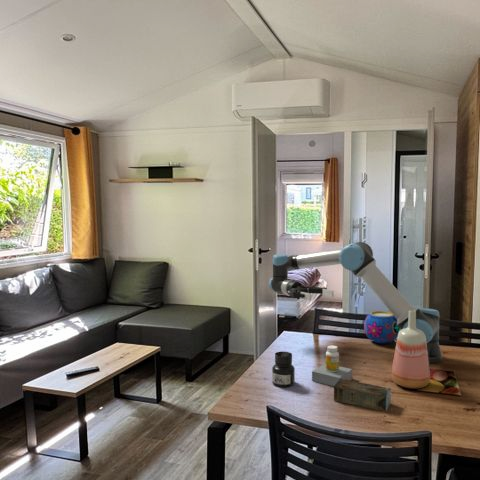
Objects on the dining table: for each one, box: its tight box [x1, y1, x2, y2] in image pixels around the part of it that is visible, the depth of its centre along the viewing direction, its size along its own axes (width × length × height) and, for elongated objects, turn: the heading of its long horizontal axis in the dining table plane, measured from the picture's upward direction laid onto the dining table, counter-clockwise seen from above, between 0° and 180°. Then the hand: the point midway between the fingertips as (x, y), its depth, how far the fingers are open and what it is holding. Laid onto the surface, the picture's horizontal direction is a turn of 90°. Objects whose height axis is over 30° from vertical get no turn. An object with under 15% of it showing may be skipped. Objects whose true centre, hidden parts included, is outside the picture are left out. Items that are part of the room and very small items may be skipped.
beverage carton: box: [333, 379, 392, 412], centre depth 171 cm, size 8×19×7 cm, turn 62°
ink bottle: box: [271, 350, 296, 388], centre depth 189 cm, size 10×9×12 cm
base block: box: [311, 362, 353, 387], centre depth 193 cm, size 12×12×4 cm
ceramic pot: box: [363, 310, 401, 345], centre depth 243 cm, size 18×18×15 cm
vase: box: [390, 310, 431, 389], centre depth 186 cm, size 14×14×30 cm
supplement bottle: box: [325, 344, 340, 372], centre depth 192 cm, size 5×5×10 cm
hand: (321, 295), depth 214 cm, fingers open, 13 cm apart
